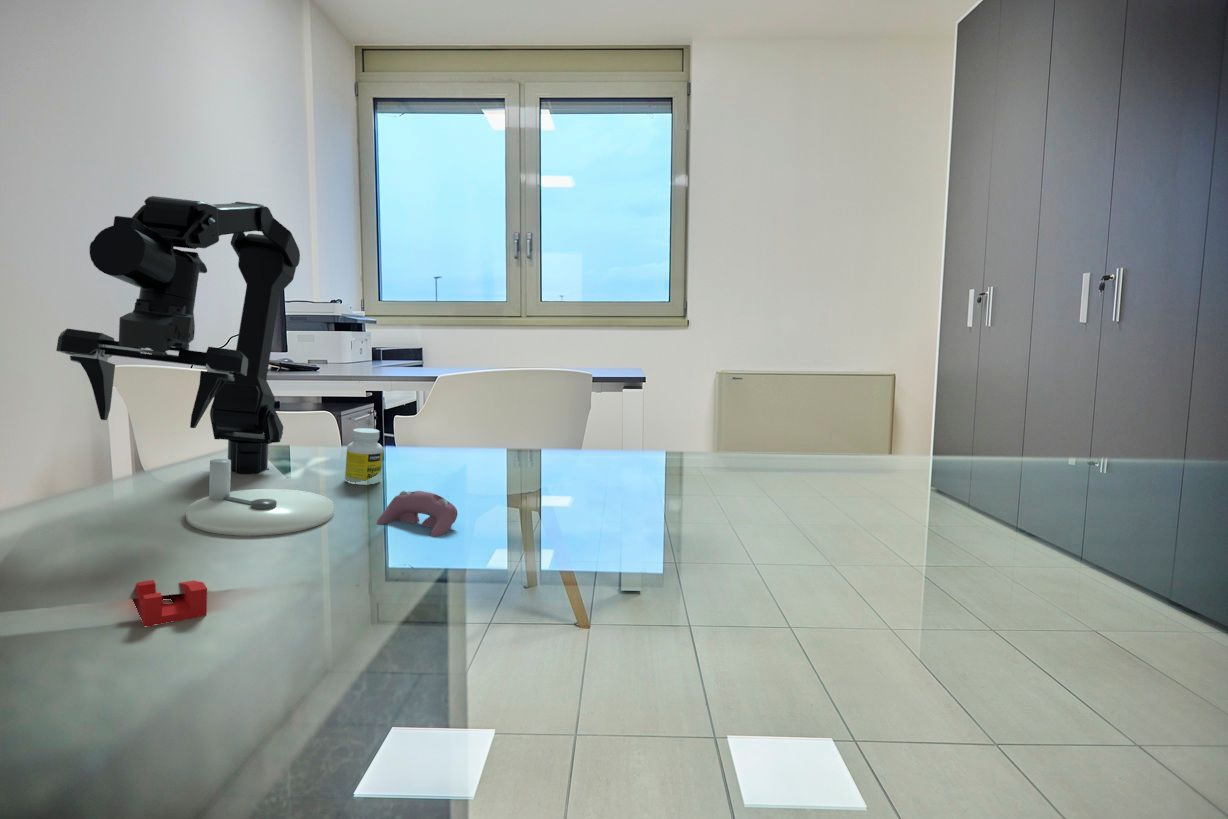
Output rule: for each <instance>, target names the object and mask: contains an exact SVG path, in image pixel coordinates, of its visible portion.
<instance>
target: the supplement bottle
mask: <svg viewBox="0 0 1228 819" xmlns="http://www.w3.org/2000/svg"><path fill="white" fill-rule="evenodd" d="M380 432H381V431H380V430H379V429H375V428H370V427H369V428H368V427H366V428H365V427H360V428H354V429H353V430H352V440H353V441H352V442H350V443H348V445H347V448H346V457H345V458H346V459H345V474H344V480H345V479H346V480H347V481H350V482H355V483H356V482H361V481H366V480H368V479H370V478H372V477H374V476H376V475H377V474H379V473H380V472H381V473H382V467H383V466H382V464H383V455H384V454H383V453H384V452H383V450H384V447H383V446H382V445H381V443H379V442H378V441H379V440H380Z"/></svg>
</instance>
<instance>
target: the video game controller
mask: <svg viewBox="0 0 1228 819" xmlns="http://www.w3.org/2000/svg"><path fill="white" fill-rule="evenodd" d="M419 514H422V515H426V516H429V517H427V518H425V519H424V520H423V521H422V522H421V526H424V527H429V528H432V529H431V531H430V534H429V535H430V537H432V538H436V537H440V536H443V535H446V534H447V533H448V532H450V530H451V529H452V528H451V527H452V526H453V524H454V523H455V522H456V521H457V518H458V509H457V507H456V506H455V505H454V504H453V503H451V502H450V501H448V500H447V499H446V498H444V497H443V496H441V495H439V494H436V493H433V492H428V491H423V490H415V491H410V490H409V491H405V490H403V491H401V492H399V494H398V495H395V496H394V498H393V499H392V500H391V501H390V502H389V504H388V505H387V506H386V508H385V509H384V510H383V512H382V513H381V515H379V517H378V519H377V521H376V525H385V524H389V523H392V522H396V521H399V520H400V521H402V522H407V523H410V524H413V525H414V524H418V523H419V522H420V518H419Z"/></svg>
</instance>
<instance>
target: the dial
mask: <svg viewBox="0 0 1228 819" xmlns="http://www.w3.org/2000/svg"><path fill="white" fill-rule="evenodd" d="M231 475H232V471H231V460H228V458H215V459H211V460H209V480H208V481H209V484H208V485H209V487H208V488H209V489H208V490H209V491H208V496H205V497H202V498H200V499H198V500H196V501H193V502H191V504H189V505H188V506H187V507H186V510H185V512H186V513H185V516H186V517H185V520H186V523H187V524H189V526H191V527H193V528H194V529H197V530H200V531H204V532H208V533H211V534H212V533H213V534H217V535H218V534H219V535H225V536H241V537H242V536H243V537H248V536H249V537H253V536H254V537H258V536H273V535H282V534H283V535H284V534H291V533H297V532H301V531H304V530H309V529H313V528H315V527H318V526H321V525H323V524H325V523H327V522H329V521H330V520H331V519H332V518H333V516H334V512H335V504H334V502H333V500H331V499H329V498H328V497H326V496H324V495H320V494H318V493H314V492H310V491H304V490H296V489H287V488H286V489H282V488H253V489H243V490H233V491H231Z"/></svg>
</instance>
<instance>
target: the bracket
mask: <svg viewBox="0 0 1228 819" xmlns="http://www.w3.org/2000/svg"><path fill="white" fill-rule="evenodd" d="M178 584H179V586H180V587H181V589H182V590H183V592H184V593H174V594H173V593H172V594H165V595H163V594H161V592H157V590H156V589H157V587H156V585H157V584H156V582H155V580H154V579H151V580H150V579H149V580H144V581H138V582H136V583H135V587H134V591H135V593H136V596H137V597H134V598H132V602H134V603H133V605H134V604H135V605H134V607H135V606H136V607H135V609H136V608H137V610H138V612H139V614H138V616H139V615H140V616H139V618H140V617H141V619H142V621H143V623H142V625H143V624H144V625H143V627H144V626H150V627H153V626H152V625H154V624H160V625H162V624H161V623H165V624H167V623H166V622H170V623H172V622H171V621H174V622H173V623H175V622H181V621H183V620H184V621H185V620H189V619H194V618H201V617H205V616H207V612H208V611H207V609H208V607H207V606H208V587H207V585H205V583H204V582H202V581H198V580H189V581H183V582H178ZM163 599H171V600H172V601H171V600H170V601H171V603H164V601H162V600H163ZM172 602H173V603H172ZM137 610H136V611H137ZM138 612H137V613H138ZM141 619H140V620H141ZM142 621H141V622H142Z"/></svg>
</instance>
